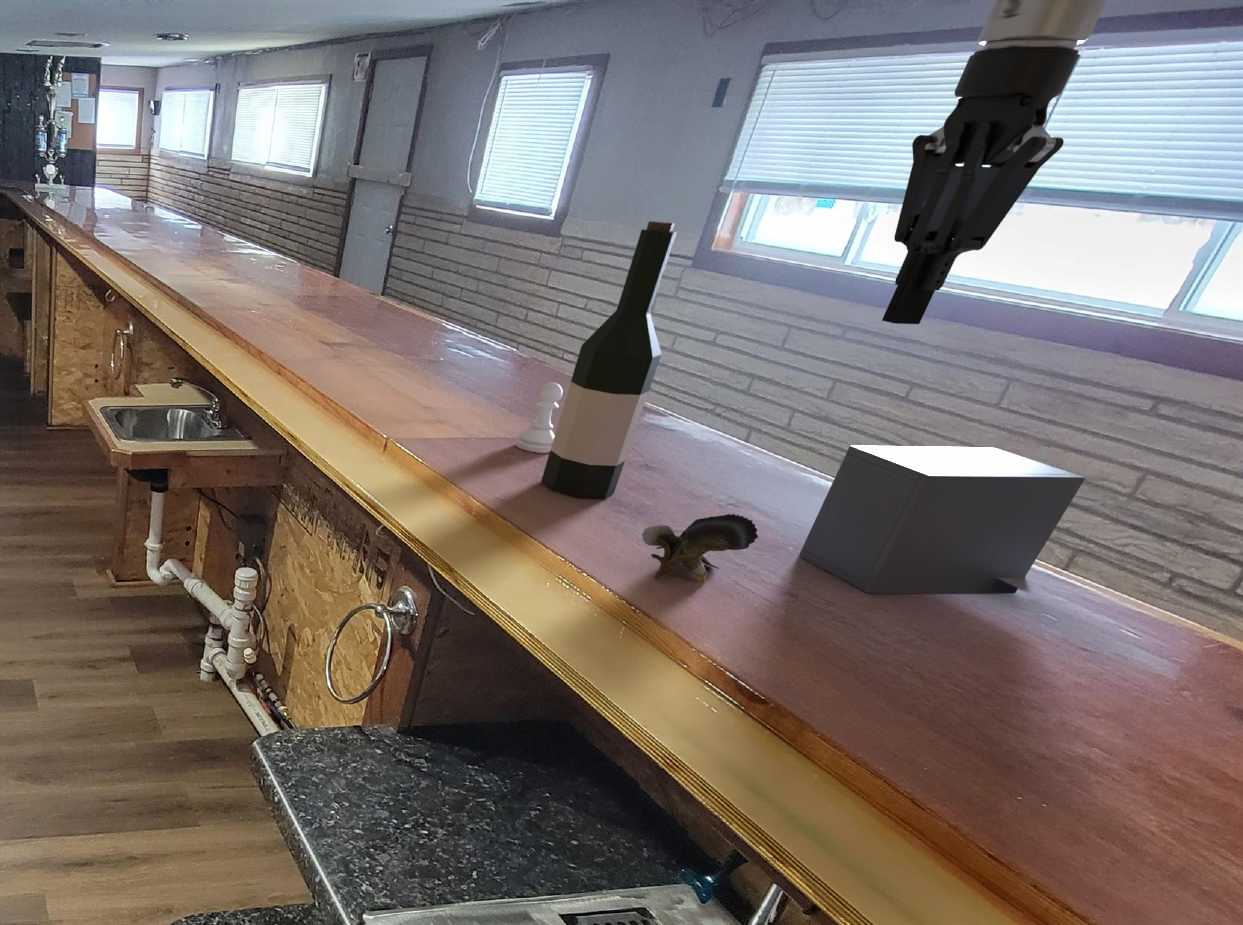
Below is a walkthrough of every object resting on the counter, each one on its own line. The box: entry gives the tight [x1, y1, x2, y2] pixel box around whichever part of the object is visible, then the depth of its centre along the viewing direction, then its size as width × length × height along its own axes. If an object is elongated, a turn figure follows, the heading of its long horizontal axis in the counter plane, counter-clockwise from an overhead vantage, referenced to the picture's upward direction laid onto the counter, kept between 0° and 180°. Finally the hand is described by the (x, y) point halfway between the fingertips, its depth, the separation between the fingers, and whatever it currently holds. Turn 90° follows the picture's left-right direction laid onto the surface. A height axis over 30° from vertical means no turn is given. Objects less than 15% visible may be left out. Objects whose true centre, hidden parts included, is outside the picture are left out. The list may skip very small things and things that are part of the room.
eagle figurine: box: [641, 513, 759, 584], centre depth 89 cm, size 8×7×9 cm
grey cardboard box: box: [798, 445, 1086, 595], centre depth 90 cm, size 16×9×12 cm, turn 95°
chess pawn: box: [515, 382, 563, 454], centre depth 124 cm, size 5×5×9 cm
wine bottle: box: [540, 220, 677, 500], centre depth 105 cm, size 8×8×30 cm
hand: (900, 322), depth 93 cm, fingers closed
